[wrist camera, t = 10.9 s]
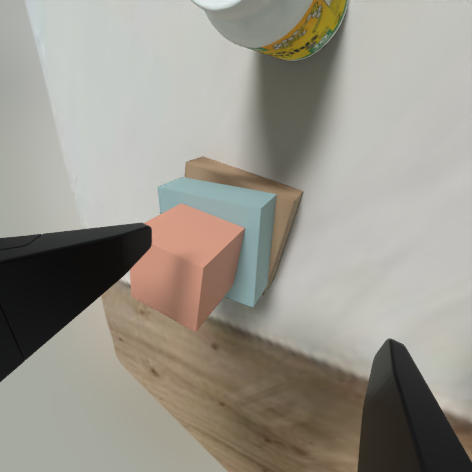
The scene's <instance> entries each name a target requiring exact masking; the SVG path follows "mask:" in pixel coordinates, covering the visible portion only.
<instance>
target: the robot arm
mask: <svg viewBox="0 0 472 472" xmlns="http://www.w3.org/2000/svg"><path fill="white" fill-rule="evenodd" d="M151 246H152V228H151V227H150V226H149V225H147V224H144V223H134V224H126V225H117V226H108V227H99V228H90V229H81V230H73V231H64V232H55V233H46V234H42V235H41V234H37V235H29V236H19V237H7V238H0V382H1V381H2V380H3V379H4V378H6V377H7V376H8V375H9V374H10V373H11V372H13V371H14V370H15V369H16V368H17V367H18V366H19V365H21V364H22V363H23V362H24V361H25V360H26V359H27V358H28V357H30V356H31V355H32V354H33V353H34V352H36V351H37V350H38V349H39V348H40V347H41V346H43V345H44V344H45V343H46V342H47V341H48V340H50V339H51V338H52V337H53V336H54V335H55V334H57V333H58V332H59V331H60V330H61V329H62V328H64V327H65V326H66V325H67V324H68V323H69V322H71V321H72V320H73V319H74V318H75V317H76V316H78V315H79V314H80V313H81V312H82V311H83V310H85V309H86V308H87V307H88V306H89V305H90V304H92V303H93V302H94V301H95V300H96V299H97V298H98V297H100V296H101V295H102V294H103V293H104V292H106V291H107V290H108V289H109V288H110V287H111V286H113V285H114V284H115V283H116V282H117V281H118V280H120V279H121V278H122V277H123V276H124V275H125V274H126V273H127V272H128V271H129V270H130V269H131V268H132V267H133V266H134V265H135V264H136V263H137V262H138V261H139V260H140V259H141V258H142V256H143V255H144V254H145V253H146V252H147V251H148V250H149V249H150V248H151ZM358 472H472V462H471V460H470V458H469V457H468V455H467V453H466V451H465V450H464V448H463V446H462V444H461V443H460V441H459V439H458V437H457V436H456V434H455V432H454V431H453V429H452V427H451V425H450V424H449V422H448V420H447V418H446V417H445V415H444V413H443V411H442V410H441V408H440V406H439V404H438V403H437V401H436V399H435V397H434V396H433V394H432V392H431V390H430V389H429V387H428V385H427V383H426V382H425V380H424V378H423V377H422V375H421V373H420V371H419V370H418V368H417V366H416V364H415V363H414V361H413V359H412V357H411V356H410V354H409V352H408V350H407V349H406V347H405V346H404V345H403V344H402V343H400V342H397V341H395V340H393V339H387V340H386V341H385V343H384V344H383V345H382V347H381V348H380V350H379V351H378V352H377V354H376V355H375V357H374V360H373V364H372V369H371V374H370V378H369V383H368V387H367V392H366V397H365V401H364V407H363V414H362V425H361V436H360V448H359V460H358Z"/></svg>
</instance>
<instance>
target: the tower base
mask: <svg viewBox="0 0 472 472" xmlns="http://www.w3.org/2000/svg"><path fill="white" fill-rule="evenodd" d="M185 178H191V179H197V180H202V181H208V182H213V183H219V184H224V185H230V186H235V187H241V188H246V189H252V190H257V191H263V192H268V193H274V194H277V198H276V207H275V217H274V227H273V236H272V246H271V256H270V265H269V275H268V285H267V287H266V288H265V290H264V292H263V293H262V294H263V295H264V294H265V292H266V290H267V289H268V287H269V285H270V284H271V282H272V281H273V279H274V276H275V273H276V270H277V267H278V264H279V261H280V258H281V255H282V252H283V249H284V246H285V243H286V240H287V237H288V234H289V231H290V229H291V226H292V223H293V220H294V217H295V214H296V211H297V208H298V205H299V202H300V199H301V196H302V193H303V191H301V190H298V189H295V188H292V187H290V186H287V185H284V184H281V183H278V182H275V181H272V180H269V179H266V178H264V177H261V176H258V175H255V174H252V173H249V172H246V171H243V170H240V169H238V168H235V167H232V166H229V165H226V164H223V163H220V162H217V161H215V160H212V159H209V158H206V157H200V158H197V159H194V160H190V161H187V162H186V166H185Z"/></svg>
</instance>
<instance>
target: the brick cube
mask: <svg viewBox="0 0 472 472" xmlns="http://www.w3.org/2000/svg"><path fill="white" fill-rule="evenodd" d="M144 224H147V225H149V226H150V227H151V228H152V246H151V248H150V249H149V250H148V251H147V252H146V253H145V254H144V255H143V256H142V258H141V259H140V260H139V261H138V262H137V263H136V264H135V265H134V266H133V267H132V268H131V269H130V279H131V293H132V297H133V298H135V299H137V300H139V301H141V302H142V303H144V304H146V305H148V306H150V307H151V308H153V309H155V310H157V311H159V312H160V313H162V314H164V315H166V316H168V317H169V318H171V319H173V320H175V321H177V322H178V323H180V324H182V325H184V326H186V327H187V328H189V329H191V330H193V331H195V332H196V331H197V330H198V329H199V327H200V326H201V325H202V324H203V322H204V321H205V320H206V319H207V317H208V316H209V315H210V314H211V312H212V311H213V310H214V309H215V307H216V306H217V305H218V304H219V302H220V301H221V300H222V299H223V297H224V296H225V295H226V293H227V292H228V291H229V290H230V288H231V287H232V286H233V284H234V279H235V274H236V269H237V264H238V260H239V255H240V250H241V245H242V240H243V235H244V230H245V228H244V227H241V226H239V225H236V224H233V223H231V222H228V221H226V220H223V219H221V218H218V217H216V216H213V215H210V214H208V213H205V212H203V211H200V210H198V209H195V208H192V207H190V206H187V205H185V204H182V203H181V204H179V205H177V206H175V207H173V208H172V209H170V210H168V211H166V212H164V213H162V214H160V215H159V216H157V217H155V218H153V219H151V220H149V221H148V222H146V223H144Z"/></svg>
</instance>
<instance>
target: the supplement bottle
mask: <svg viewBox="0 0 472 472" xmlns="http://www.w3.org/2000/svg"><path fill="white" fill-rule="evenodd" d="M191 1H192V2H193V3H194V4H196V5H197V6H198V7H200V8H201V9H203V10H205V12H206V14H207V16H208V18H209V20H210V22H211V23H212V25H213V26H214V27H215V28H216V30H217V31H218V32H219V33H220V34H221V35H222V36H223V37H225V38H226V39H228V40H229V41H231V42H233V43H235V44H237V45H239V46H242V47H245V48H249V49H252V50H255V51H258V52H262V53H264V54H268V55H270V56H274V57H276V58H279V59H283V60H287V61H297V60H302V59H306V58H308V57H310V56H312V55H314V54H315V53H317V52H318V51H319V50H320V49H321V48H323V47H324V46H325V45H326V44H327V43H328V42H329V41H330V40H331V38H332V37H333V36H334V35H335V33H336V32H337V30H338V29H339V27H340V25H341V23H342V21H343V18H344V16H345V13H346V10H347V6H348V1H349V0H191Z"/></svg>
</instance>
